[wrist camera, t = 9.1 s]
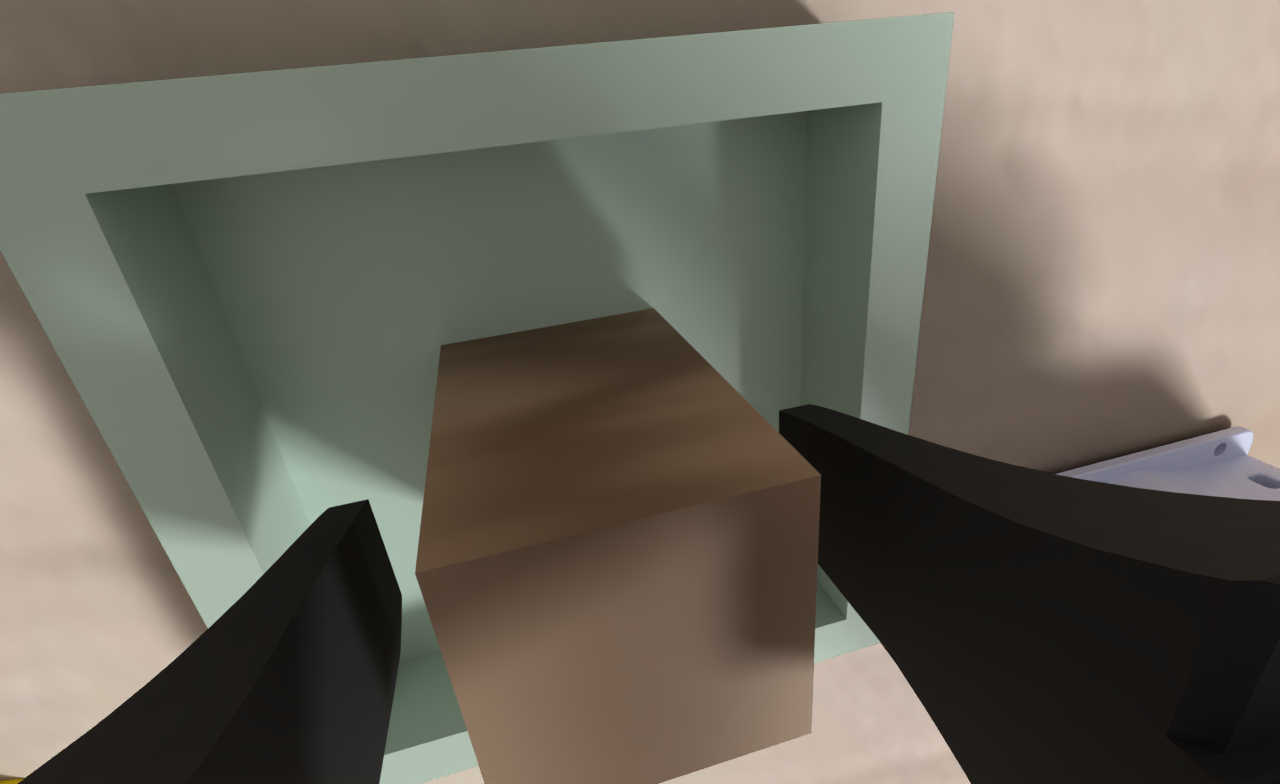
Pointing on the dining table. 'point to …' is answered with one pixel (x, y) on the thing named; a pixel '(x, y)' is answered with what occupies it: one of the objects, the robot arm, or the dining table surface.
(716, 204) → the bin
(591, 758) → the walnut block
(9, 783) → the candy box
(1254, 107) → the dining table surface
